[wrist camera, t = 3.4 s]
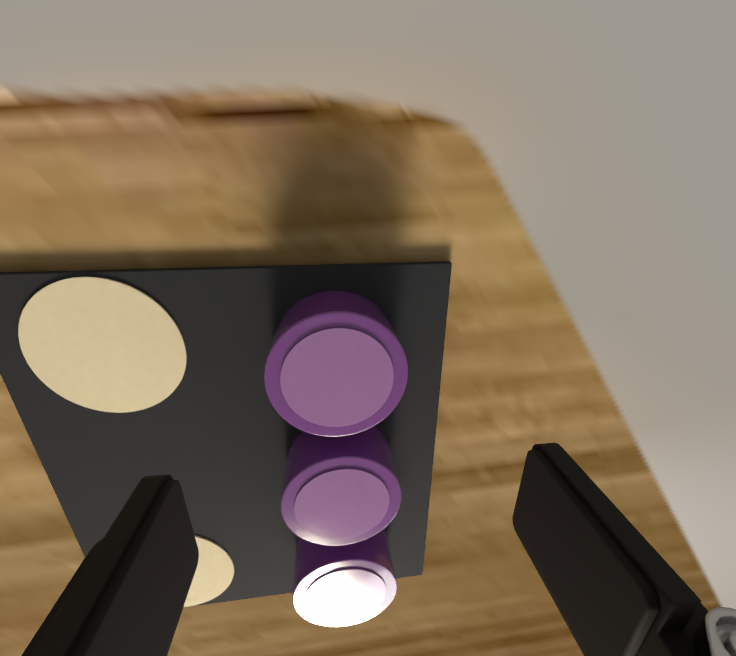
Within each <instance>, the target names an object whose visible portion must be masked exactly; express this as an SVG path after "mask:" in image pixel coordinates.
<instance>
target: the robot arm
mask: <svg viewBox="0 0 736 656" xmlns="http://www.w3.org/2000/svg"><path fill="white" fill-rule="evenodd" d="M513 525H514V529H515V531H516V533H517V535H518V537H519V539H520V540H521V542H522V544H523V546H524V548H525V549H526V551H527V553H528V555H529V557H530V558H531V560H532V562H533V564H534V566H535V568H536V569H537V571H538V573H539V575H540V577H541V578H542V580H543V582H544V584H545V586H546V588H547V589H548V591H549V593H550V595H551V597H552V598H553V600H554V602H555V604H556V606H557V607H558V609H559V611H560V613H561V615H562V617H563V618H564V620H565V622H566V624H567V626H568V627H569V629H570V631H571V633H572V635H573V636H574V638H575V640H576V642H577V644H578V646H579V647H580V649H581V651H582V653H583V655H584V656H736V610H735V609H732V608H725V607H717V608H713V609H710V611H709V612H708V611H707V609H706V608H705V607H704V606H703V605H702V604H701V603H700V602H701V600H700V599H699V598H698V597H697V596H696V594H695V593H694V592H693V591H692V590H691V589H690V588H689V587H688V586H687V585H686V583H685V582H684V581H683V580H682V579H681V578H680V577H679V576H678V575H677V574H676V572H675V571H674V570H673V569H672V568H671V567H670V566H669V565H668V564H667V563H666V561H665V560H664V559H663V558H662V557H661V556H660V555H659V554H658V553H657V552H656V550H655V549H654V548H653V547H652V546H651V545H650V544H649V543H648V542H647V540H646V539H645V538H644V537H643V536H642V535H641V534H640V533H639V532H638V531H637V529H636V528H635V527H634V526H633V525H632V524H631V523H630V522H629V521H628V520H627V518H626V517H625V516H624V515H623V514H622V513H621V512H620V511H619V510H618V509H617V507H616V506H615V505H614V504H613V503H612V502H611V501H610V500H609V499H608V498H607V496H606V495H605V494H604V493H603V492H602V491H601V490H600V489H599V488H598V487H597V485H596V484H595V483H594V482H593V481H592V480H591V479H590V478H589V477H588V476H587V474H586V473H585V472H584V471H583V470H582V469H581V468H580V467H579V466H578V465H577V463H576V462H575V461H574V460H573V459H572V458H571V457H570V456H569V455H568V454H567V452H566V451H565V450H564V449H563V448H562V447H561V446H560V445H559V444H557V443H546V444H535V445H534V446H533V448H532V450H529V451H528V453H527V457H526V461H525V466H524V470H523V474H522V479H521V483H520V488H519V492H518V496H517V501H516V505H515V509H514V514H513ZM198 559H199V550H198V546H197V543H196V539H195V535H194V532H193V528H192V524H191V521H190V517H189V513H188V510H187V506H186V502H185V499H184V495H183V492H182V488H181V484H180V482H179V480H174V479H173V477H172V476H171V475H170V474H167V475H154V476H145V477H143V478H142V479H141V480H140V482H139V483H138V485H137V486H136V488H135V489H134V491H133V493H132V494H131V496H130V497H129V499H128V500H127V502H126V504H125V505H124V507H123V508H122V510H121V511H120V513H119V515H118V516H117V518H116V519H115V521H114V523H113V524H112V526H111V527H110V529H109V530H108V532H107V534H106V535H105V537H104V538H103V539H101V540H100V541H98V542H97V543H96V544H95V545H94V546H93V547H92V549H91V550H90V551H89V553H88V554H87V556H86V557H85V559H84V560H83V562H82V563H81V565H80V567H79V568H78V570H77V571H76V573H75V574H74V576H73V577H72V579H71V580H70V582H69V583H68V585H67V587H66V588H65V590H64V591H63V593H62V594H61V596H60V597H59V599H58V600H57V602H56V603H55V605H54V607H53V608H52V610H51V611H50V613H49V614H48V616H47V617H46V619H45V620H44V622H43V623H42V625H41V627H40V628H39V630H38V631H37V633H36V634H35V636H34V637H33V639H32V640H31V642H30V643H29V645H28V647H27V648H26V650H25V651H24V653H23V654H22V656H167V654H168V651H169V648H170V645H171V642H172V639H173V636H174V633H175V630H176V627H177V624H178V621H179V618H180V615H181V612H182V610H183V607H184V604H185V601H186V598H187V595H188V592H189V589H190V586H191V583H192V580H193V577H194V574H195V571H196V568H197V565H198Z"/></svg>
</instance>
